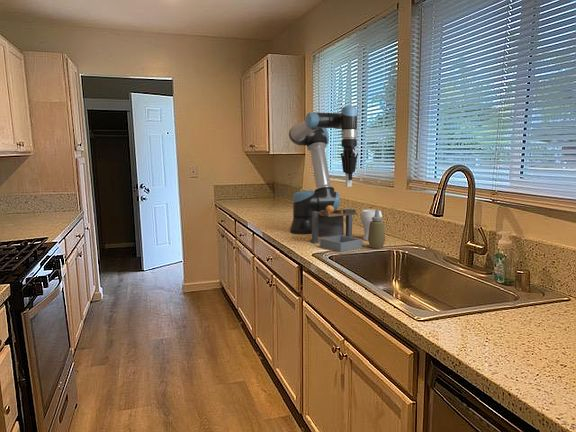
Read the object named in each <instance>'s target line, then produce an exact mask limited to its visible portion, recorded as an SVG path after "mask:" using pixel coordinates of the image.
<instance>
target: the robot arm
mask: <svg viewBox="0 0 576 432" xmlns="http://www.w3.org/2000/svg"><path fill="white" fill-rule="evenodd" d="M304 119H305V120H303V121H302V122H301V123H299V124H294V125H293V126H292V127H290V129H289V132H288V137H289V139H290V141H291V142H292V143H293V144H295V145H296V146H297V145H298V146H302V147H303V146H306V148H307V151H308V152H310V158H311V163H312V169H313V170H312V171H313V176H314V182H315V189H314V190H312V189H308V190H300V191H296V192H294V193H293V197H292V209H293V210H292V212H293V213H292V215H293V216H292V218H293V219H292V221H291V224H290V229H289V230H290V231H289V232H290V233H291V234H295V235H296V234H298V235H312V211H317V212H320V211H322V210H326V207H327V206H329V205H331V206H333V208H334V210H339V206H340V201H341V199H340V194H339V192H338V191H335V187H334V186H332V184H331V178H330V172H329V166H328V161H327V155H326V148H327V146H328V144H329V143H330V142H329V141H330V140H329V139H330V135H329V132H328V130H327V129H336V130H337V129H338V130H341V147H342V148H343V150H342V151H343V152H341V153H340V154H339V155H340V158H341V166H342V172H343V173H344V174H345V188H348V187H349V188H350V187H351V188H352V187H353V173H355V172H356V168H357V160H358V156H359V153H358V152H356V147H358V141H357V137H358V108H357V107H356V106H353V105H351V106H350V105H349V106H342V107H341V111H340V112H315V111H313V112H308V113H307V114H306V115H305V118H304Z"/></svg>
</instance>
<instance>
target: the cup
mask: <svg viewBox="0 0 576 432" xmlns="http://www.w3.org/2000/svg"><path fill="white" fill-rule="evenodd" d="M378 210H379V209H378ZM375 211H376V209H362V211H361V214H360V221H361V224H362V226H363V231H364V232H363V237H362V238H363V239H362V240H364V241H368V234H369V226H370V222H372V217H374V216H375ZM379 215H380V217H382V218H383V214H382V211H381V210H379ZM368 242H369V241H368Z"/></svg>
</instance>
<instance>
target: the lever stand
mask: <svg viewBox="0 0 576 432" xmlns="http://www.w3.org/2000/svg"><path fill="white" fill-rule="evenodd" d="M345 236H348V237H353V238H356V237H354V236H353V215H346V216H345ZM309 243H312V244H320V240H319V237H318V212H317V211H312V234H311V239H309Z"/></svg>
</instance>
